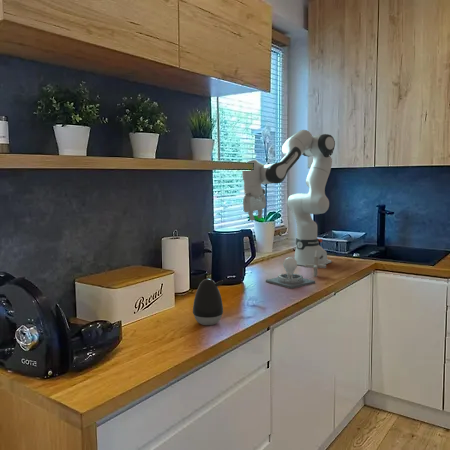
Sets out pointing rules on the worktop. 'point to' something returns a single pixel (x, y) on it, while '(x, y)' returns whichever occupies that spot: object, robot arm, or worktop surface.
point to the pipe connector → (315, 265)
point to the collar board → (305, 282)
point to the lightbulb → (290, 266)
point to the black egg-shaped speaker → (208, 303)
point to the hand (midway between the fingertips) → (256, 219)
